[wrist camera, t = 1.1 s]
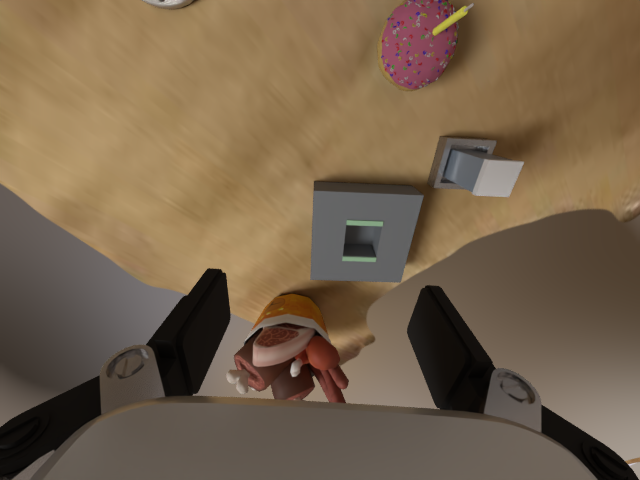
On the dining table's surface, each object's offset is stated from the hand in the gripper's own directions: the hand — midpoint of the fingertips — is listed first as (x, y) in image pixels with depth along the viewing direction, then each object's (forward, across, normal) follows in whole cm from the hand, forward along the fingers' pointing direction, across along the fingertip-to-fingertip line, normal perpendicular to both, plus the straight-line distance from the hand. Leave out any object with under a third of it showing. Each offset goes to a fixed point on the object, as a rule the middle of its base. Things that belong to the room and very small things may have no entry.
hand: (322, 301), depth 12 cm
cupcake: (+30, -9, -16) cm, 35 cm away
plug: (+30, -21, -3) cm, 36 cm away
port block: (+30, -7, +9) cm, 32 cm away
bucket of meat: (+31, +3, +31) cm, 43 cm away
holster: (+30, -21, -3) cm, 37 cm away
